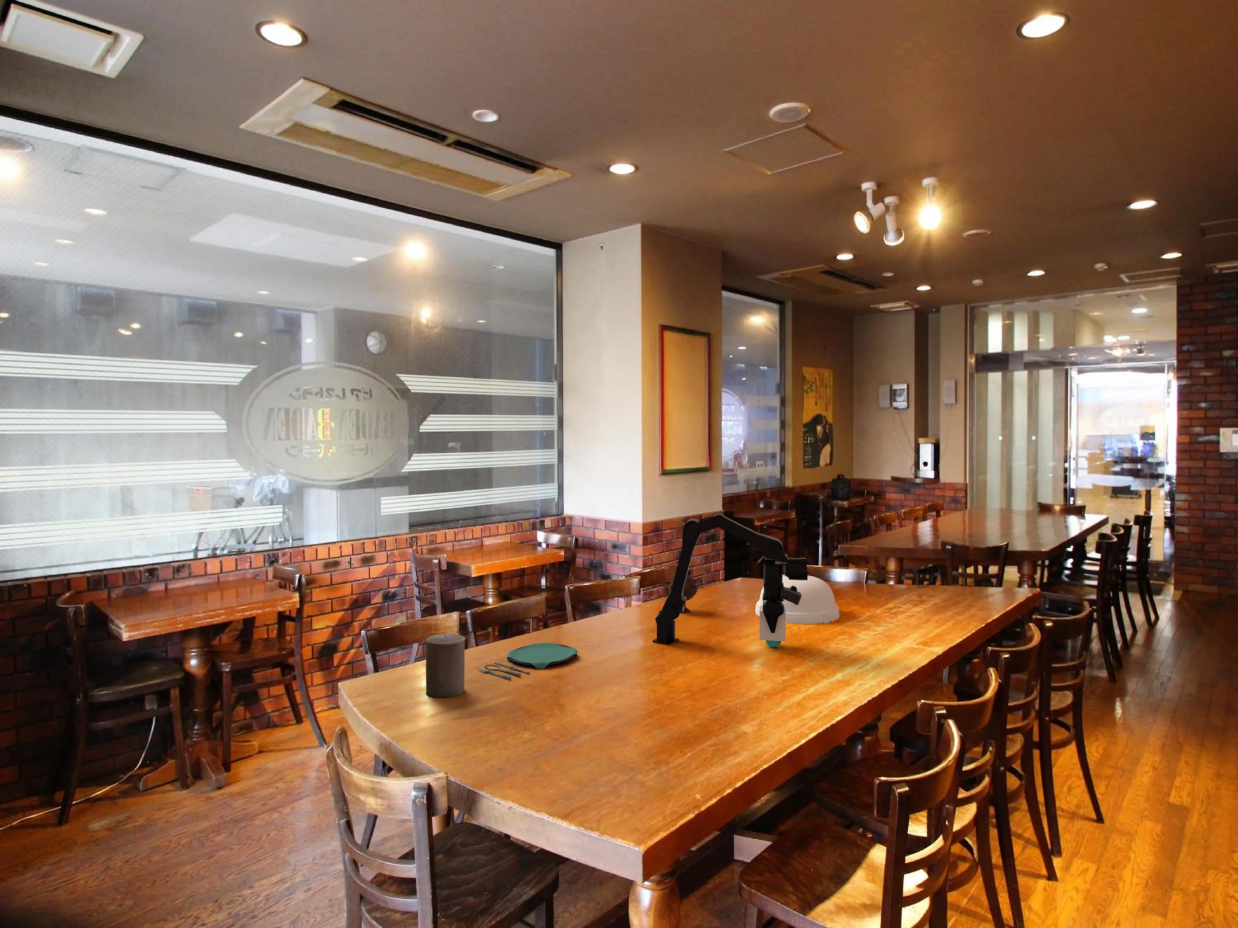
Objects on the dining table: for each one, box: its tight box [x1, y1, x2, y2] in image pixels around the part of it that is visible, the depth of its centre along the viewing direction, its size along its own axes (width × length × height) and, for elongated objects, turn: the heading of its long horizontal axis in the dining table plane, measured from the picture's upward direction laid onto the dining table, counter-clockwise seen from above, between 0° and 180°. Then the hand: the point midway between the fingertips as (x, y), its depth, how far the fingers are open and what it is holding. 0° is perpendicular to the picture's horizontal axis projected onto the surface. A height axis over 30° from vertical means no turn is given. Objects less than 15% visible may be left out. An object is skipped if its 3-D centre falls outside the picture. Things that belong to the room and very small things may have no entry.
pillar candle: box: [425, 633, 466, 699], centre depth 186 cm, size 10×10×15 cm
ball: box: [764, 640, 783, 648], centre depth 225 cm, size 5×5×5 cm
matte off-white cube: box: [759, 606, 787, 642], centre depth 225 cm, size 8×8×9 cm
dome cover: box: [755, 574, 840, 625], centre depth 268 cm, size 32×30×14 cm
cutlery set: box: [474, 642, 578, 681], centre depth 211 cm, size 20×30×2 cm, turn 139°
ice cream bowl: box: [667, 572, 699, 614], centre depth 271 cm, size 11×11×15 cm
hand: (772, 629), depth 225 cm, fingers closed on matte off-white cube, 8 cm apart
